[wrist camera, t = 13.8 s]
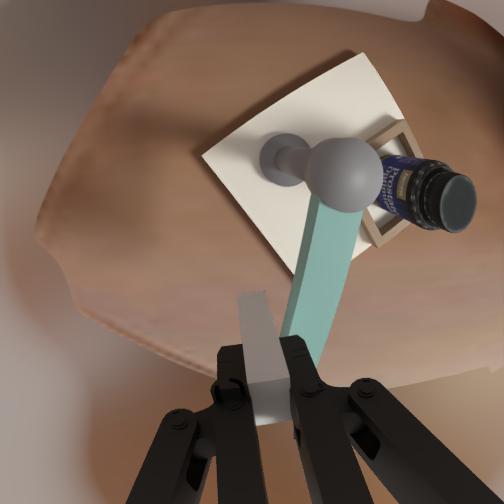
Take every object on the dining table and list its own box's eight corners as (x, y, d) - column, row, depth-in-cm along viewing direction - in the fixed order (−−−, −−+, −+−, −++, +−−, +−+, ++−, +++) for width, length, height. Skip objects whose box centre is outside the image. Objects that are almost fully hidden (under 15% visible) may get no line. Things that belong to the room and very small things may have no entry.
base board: (358, 54, 24) (438, 15, 11) (431, 189, 30) (516, 219, 17) (202, 155, 26) (183, 162, 14) (304, 287, 32) (349, 369, 20)
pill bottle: (360, 159, 27) (429, 170, 16) (406, 149, 27) (479, 159, 16) (371, 216, 29) (434, 252, 19) (414, 203, 29) (482, 231, 19)
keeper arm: (310, 131, 13) (322, 129, 12) (372, 147, 14) (389, 148, 12) (262, 368, 18) (266, 387, 17) (312, 368, 19) (319, 386, 17)
